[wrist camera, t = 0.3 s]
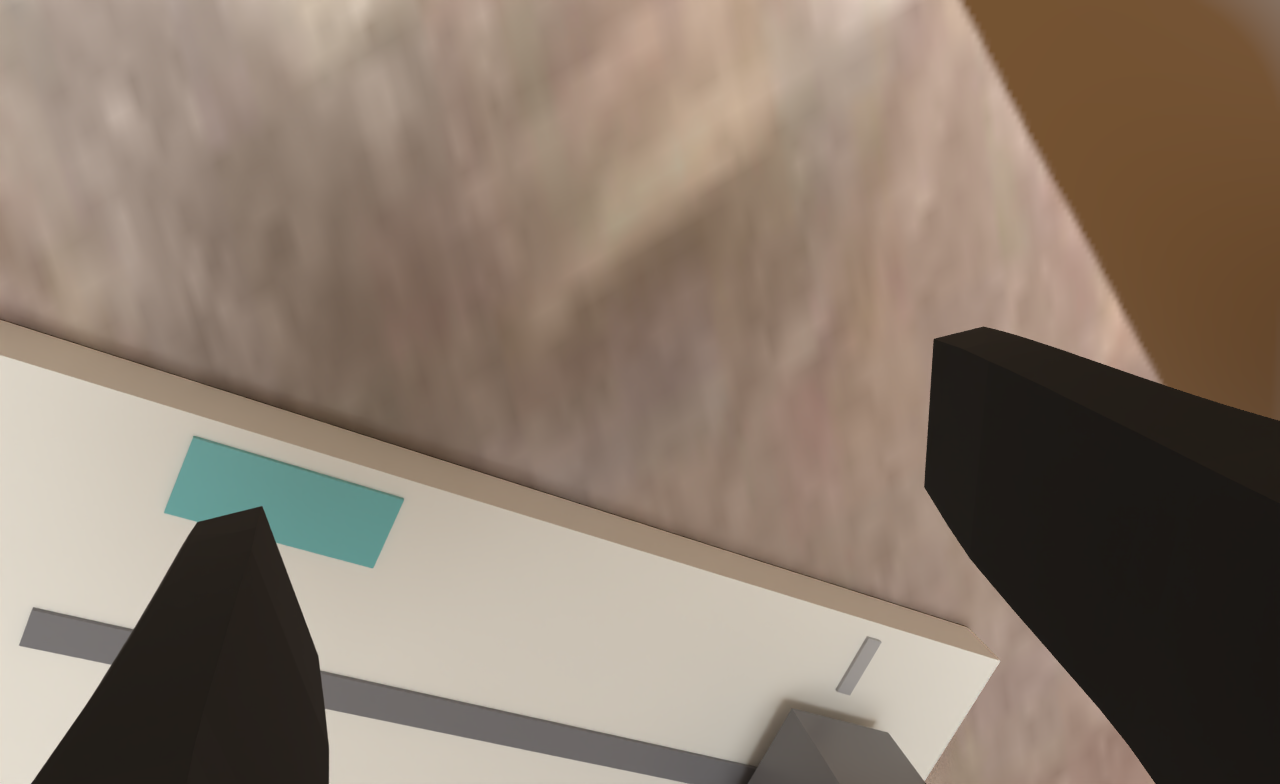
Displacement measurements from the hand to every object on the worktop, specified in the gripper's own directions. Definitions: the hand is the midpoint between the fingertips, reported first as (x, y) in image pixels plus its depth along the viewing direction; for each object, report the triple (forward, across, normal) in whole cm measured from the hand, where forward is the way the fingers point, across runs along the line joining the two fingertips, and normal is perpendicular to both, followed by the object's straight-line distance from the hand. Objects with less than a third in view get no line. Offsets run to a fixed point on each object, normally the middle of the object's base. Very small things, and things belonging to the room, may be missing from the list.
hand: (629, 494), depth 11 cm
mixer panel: (+9, +2, +12) cm, 15 cm away
